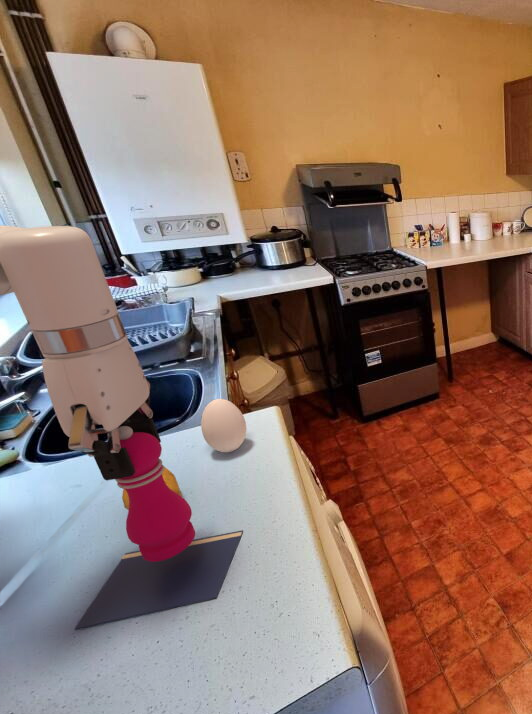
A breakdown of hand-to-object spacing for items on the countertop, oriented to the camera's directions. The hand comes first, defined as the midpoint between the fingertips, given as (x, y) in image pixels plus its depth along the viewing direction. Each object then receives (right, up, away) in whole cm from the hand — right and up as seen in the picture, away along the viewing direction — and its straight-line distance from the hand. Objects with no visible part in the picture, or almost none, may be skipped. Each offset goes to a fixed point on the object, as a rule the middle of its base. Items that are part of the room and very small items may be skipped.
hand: (134, 459), depth 58 cm
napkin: (+1, -18, +4) cm, 18 cm away
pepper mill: (0, -14, +6) cm, 15 cm away
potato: (-11, -13, +17) cm, 24 cm away
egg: (-8, -7, +32) cm, 34 cm away
